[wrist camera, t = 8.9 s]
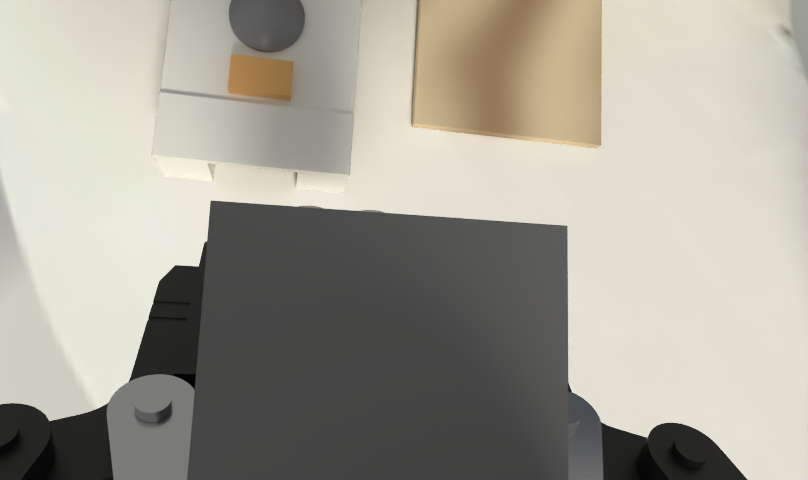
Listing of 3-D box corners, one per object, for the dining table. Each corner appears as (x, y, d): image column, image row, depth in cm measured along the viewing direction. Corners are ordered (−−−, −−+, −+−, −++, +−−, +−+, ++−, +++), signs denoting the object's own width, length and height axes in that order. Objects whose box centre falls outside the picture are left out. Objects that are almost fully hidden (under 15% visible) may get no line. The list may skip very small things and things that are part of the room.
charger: (414, 227, 20) (566, 79, 9) (406, 464, 19) (569, 603, 8) (255, 216, 19) (224, 43, 9) (237, 463, 18) (175, 612, 8)
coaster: (597, -25, 35) (601, -30, 34) (596, 148, 33) (600, 145, 33) (421, -53, 33) (423, -60, 33) (411, 126, 32) (413, 123, 31)
